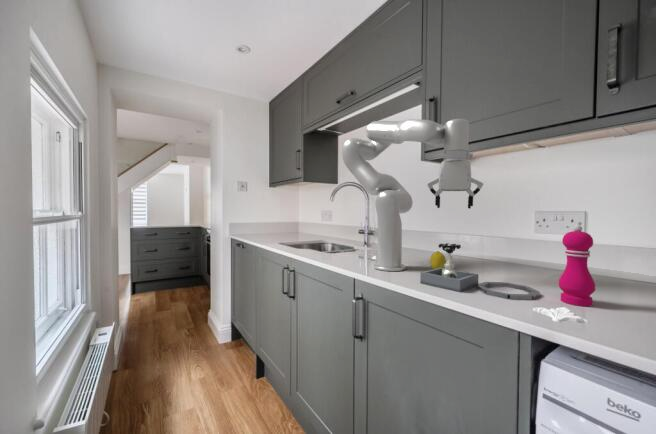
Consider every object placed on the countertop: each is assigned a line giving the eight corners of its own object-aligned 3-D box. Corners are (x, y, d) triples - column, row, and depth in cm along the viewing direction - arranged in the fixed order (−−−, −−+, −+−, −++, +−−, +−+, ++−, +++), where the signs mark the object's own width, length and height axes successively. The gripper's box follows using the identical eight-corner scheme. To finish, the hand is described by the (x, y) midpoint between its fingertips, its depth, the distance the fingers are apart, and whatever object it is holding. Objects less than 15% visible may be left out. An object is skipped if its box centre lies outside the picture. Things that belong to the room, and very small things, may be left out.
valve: (440, 284, 90) (440, 245, 90) (436, 279, 96) (436, 243, 96) (463, 285, 89) (463, 246, 88) (457, 279, 95) (457, 243, 95)
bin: (420, 283, 94) (420, 272, 94) (440, 277, 102) (440, 267, 102) (459, 292, 84) (459, 280, 84) (478, 285, 92) (478, 274, 92)
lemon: (443, 274, 107) (444, 252, 107) (428, 272, 110) (428, 251, 110) (446, 271, 112) (447, 250, 112) (432, 269, 115) (432, 249, 115)
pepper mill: (554, 301, 75) (555, 224, 75) (562, 296, 80) (564, 223, 79) (591, 309, 70) (593, 226, 69) (598, 303, 74) (600, 225, 74)
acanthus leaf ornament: (532, 313, 69) (532, 305, 69) (561, 313, 69) (561, 305, 69) (557, 325, 61) (557, 316, 61) (590, 325, 61) (590, 316, 61)
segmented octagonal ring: (469, 290, 86) (469, 287, 86) (490, 282, 95) (490, 279, 95) (527, 303, 74) (527, 299, 74) (544, 292, 83) (544, 289, 83)
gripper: (483, 158, 98) (481, 208, 99) (429, 160, 105) (427, 207, 106) (485, 154, 91) (483, 208, 92) (427, 157, 98) (425, 207, 99)
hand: (453, 208), depth 99 cm, fingers open, 9 cm apart
